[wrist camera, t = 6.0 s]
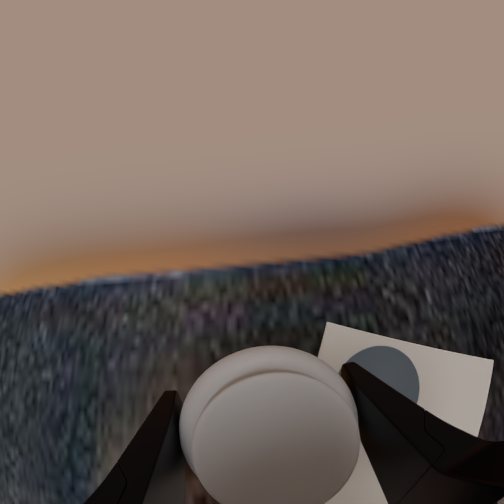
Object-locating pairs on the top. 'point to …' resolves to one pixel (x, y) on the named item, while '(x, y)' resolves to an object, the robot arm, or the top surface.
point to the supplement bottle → (270, 428)
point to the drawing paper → (408, 389)
